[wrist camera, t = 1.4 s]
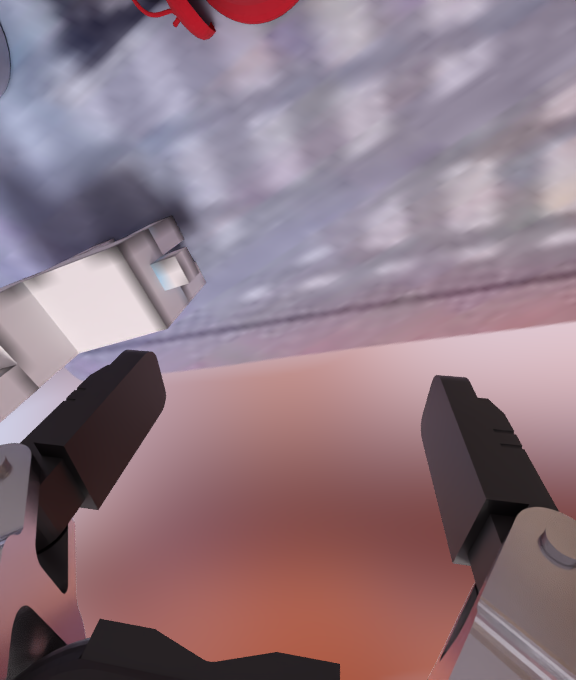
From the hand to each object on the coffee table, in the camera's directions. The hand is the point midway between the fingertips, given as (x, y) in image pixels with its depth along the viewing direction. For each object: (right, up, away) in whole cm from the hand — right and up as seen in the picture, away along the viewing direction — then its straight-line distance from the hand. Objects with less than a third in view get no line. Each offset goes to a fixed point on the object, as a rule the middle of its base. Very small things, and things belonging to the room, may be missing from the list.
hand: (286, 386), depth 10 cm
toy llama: (-16, +9, +27) cm, 33 cm away
